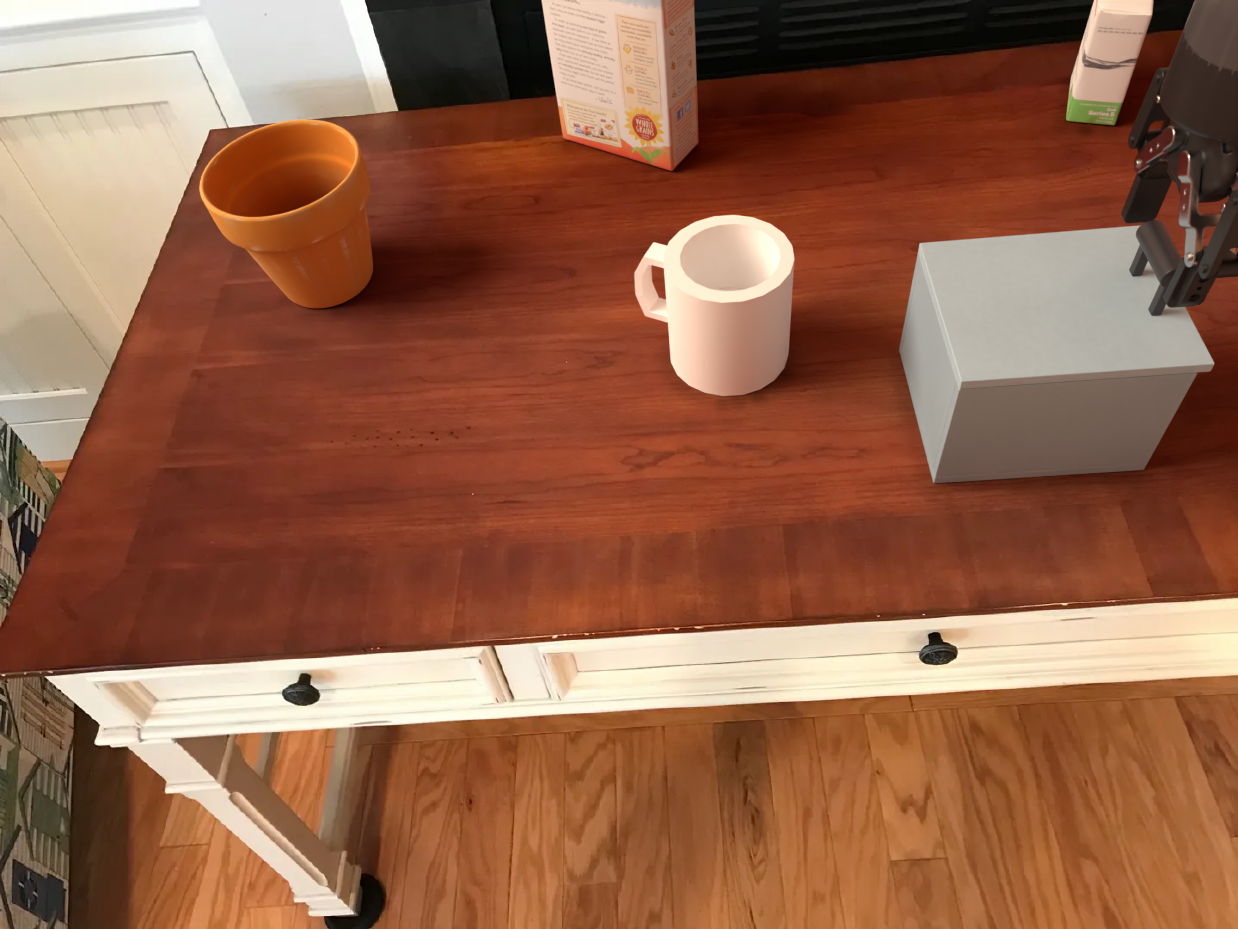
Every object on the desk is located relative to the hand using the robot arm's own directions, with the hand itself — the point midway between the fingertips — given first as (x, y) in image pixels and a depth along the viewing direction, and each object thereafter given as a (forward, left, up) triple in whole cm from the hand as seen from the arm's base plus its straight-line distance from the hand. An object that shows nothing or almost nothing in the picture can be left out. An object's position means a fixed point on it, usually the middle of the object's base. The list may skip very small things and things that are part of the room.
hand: (1157, 259), depth 67 cm
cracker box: (+36, -40, -15) cm, 56 cm away
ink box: (-12, -40, -15) cm, 44 cm away
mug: (+29, -9, -15) cm, 34 cm away
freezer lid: (+6, 0, -4) cm, 7 cm away
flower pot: (+66, -22, -15) cm, 71 cm away
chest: (+6, 0, -15) cm, 16 cm away
